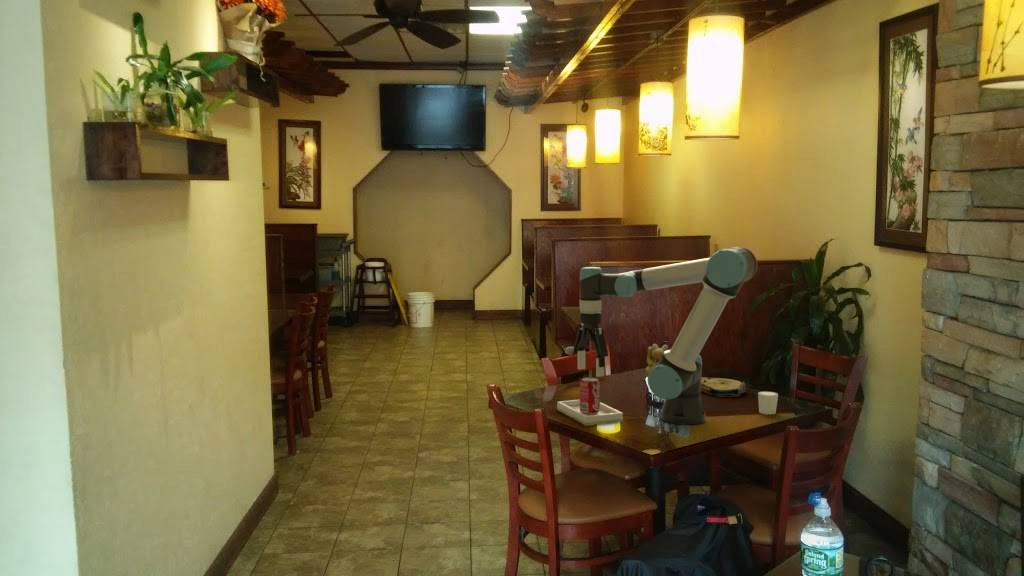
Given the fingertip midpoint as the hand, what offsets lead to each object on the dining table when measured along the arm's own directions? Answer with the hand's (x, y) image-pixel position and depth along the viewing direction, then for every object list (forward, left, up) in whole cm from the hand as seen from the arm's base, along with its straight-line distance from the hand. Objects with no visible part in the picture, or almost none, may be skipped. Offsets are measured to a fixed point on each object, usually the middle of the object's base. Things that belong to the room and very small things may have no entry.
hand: (590, 372), depth 289 cm
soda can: (0, 0, -14) cm, 14 cm away
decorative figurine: (+39, -53, -16) cm, 68 cm away
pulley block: (+15, -62, -16) cm, 65 cm away
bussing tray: (0, 0, -15) cm, 15 cm away
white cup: (-20, -61, -16) cm, 66 cm away
